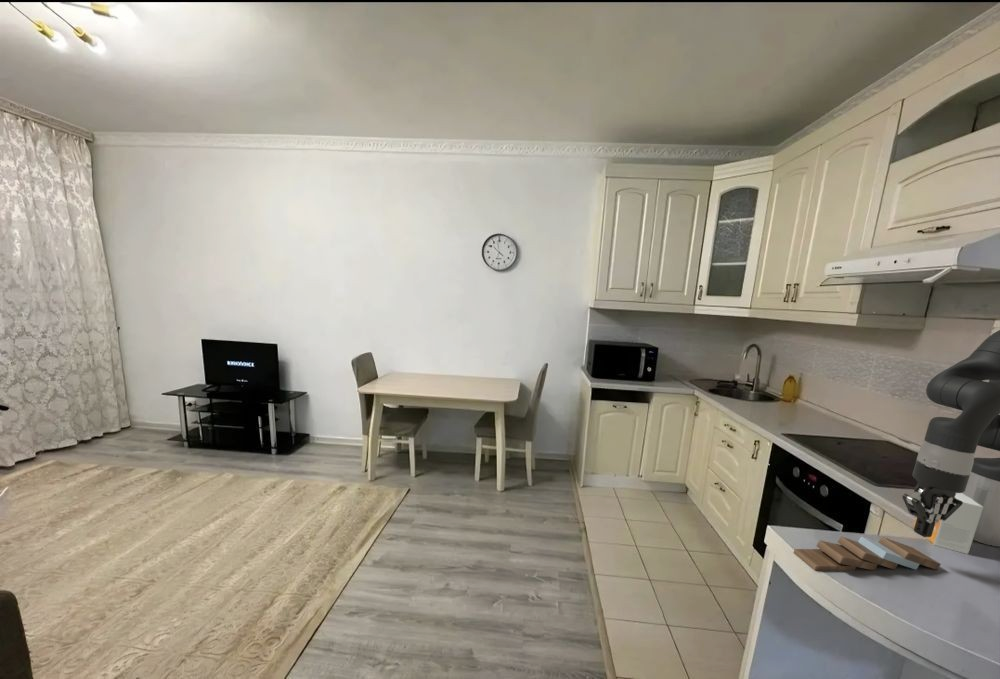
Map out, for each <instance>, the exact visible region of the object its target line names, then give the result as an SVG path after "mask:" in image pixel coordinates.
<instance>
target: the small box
mask: <svg viewBox="0 0 1000 679" xmlns="http://www.w3.org/2000/svg"><path fill="white" fill-rule="evenodd" d="M955 498H956V499H958V500H960V501H962V502H963V504H962V505H961V506H960V507H959V508H958V509H957V510H956V511H955V512H954V513H953V514H952V515H951V516H950V517H949V518H947V519H946V520H945V521H943V520H940V521H939V522H938V523H935V526H934V529H933V533H932V536H931V537H925V538H926V539H927V540H928V541H929V542H930V541H931V542H932V543H933V544H932V543H931V542H930V543H931V544H932V545H933V546H935V547H940V548H942V549H946V548H947V550H951V551H955V552H958V553H962V554H965V555H969V553H970V549H971V547H972V544H973V541H974V540H973V538H974V535H975V532H976V529H977V525H978V522H979V519H980V516H981V513H982V510H983V506H981V505H980V504H978V503H977V502H975V501H974V500H973V499H971V498H970V497H968V496H966V495H964V494H963V493H956V495H955ZM916 520H917V517H916V516H915V519H914V523H913V527H915V524H916Z"/></svg>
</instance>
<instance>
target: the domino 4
mask: <svg viewBox="0 0 1000 679" xmlns="http://www.w3.org/2000/svg"><path fill="white" fill-rule="evenodd" d="M857 542H859V543H860V544H862V545H863V546H865V547H866V548H868V549H869V550H871V551H872V552H874V553H875V554H877V555H878V556H880V557H881V558H883V559H886V560H889V561H892V562H894V563H897V564H898V565H901V566H902V567H903V566H904V567H906V568H910V569H912V570H915V571H916V570H917V569H918V568H919V566H920V565H921V564H918V563H915V562H912V561H910V560H907V559H904V558H903V557H901V556H899V555H898V554H896V553H895V552H893V551H891V550H890V549H888V548H887V547H885V546H883V545H882V544H880V543H879V541H876V540H873V539H870V538H868V537H865V536H860V538H859V539H858V541H857Z"/></svg>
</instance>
